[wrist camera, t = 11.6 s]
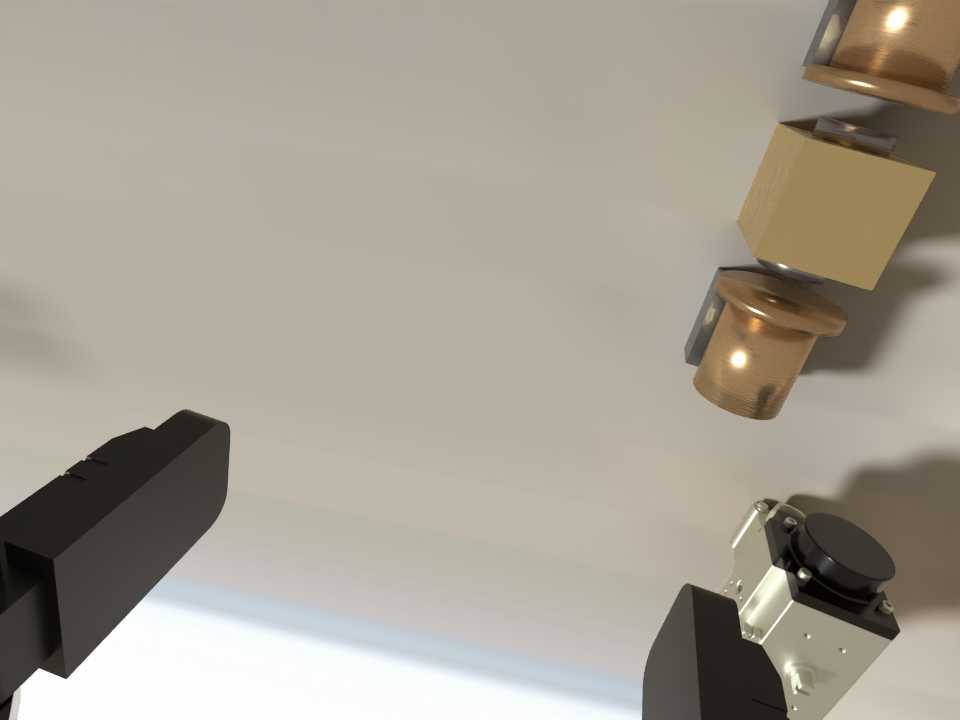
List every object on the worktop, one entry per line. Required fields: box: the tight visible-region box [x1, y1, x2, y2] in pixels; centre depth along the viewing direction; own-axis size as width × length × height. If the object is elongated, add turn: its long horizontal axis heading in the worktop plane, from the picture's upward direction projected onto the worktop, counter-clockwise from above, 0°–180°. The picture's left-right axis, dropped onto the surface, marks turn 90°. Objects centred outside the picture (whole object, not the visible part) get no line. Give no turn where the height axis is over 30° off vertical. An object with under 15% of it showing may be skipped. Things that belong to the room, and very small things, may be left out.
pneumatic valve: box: [719, 501, 900, 720], centre depth 36 cm, size 6×12×12 cm, turn 163°
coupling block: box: [737, 116, 936, 291], centre depth 30 cm, size 7×5×7 cm
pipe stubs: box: [685, 0, 960, 420], centre depth 30 cm, size 6×20×7 cm, turn 167°
